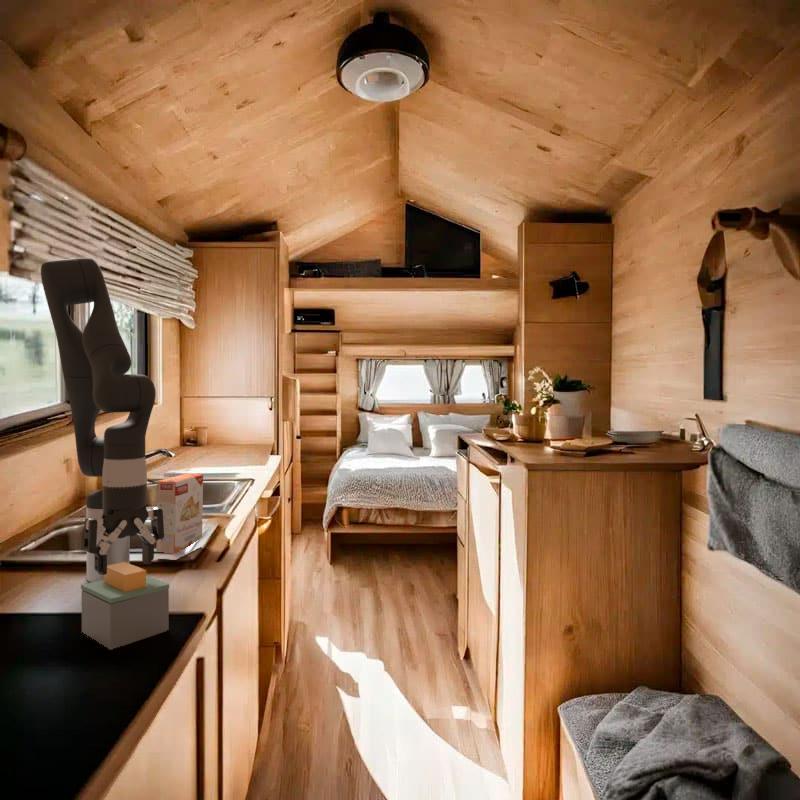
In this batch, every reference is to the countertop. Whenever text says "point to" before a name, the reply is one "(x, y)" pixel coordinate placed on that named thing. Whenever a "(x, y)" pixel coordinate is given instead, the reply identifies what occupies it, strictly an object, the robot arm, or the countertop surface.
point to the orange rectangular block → (125, 576)
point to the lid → (115, 594)
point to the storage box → (125, 618)
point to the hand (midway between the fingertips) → (125, 568)
